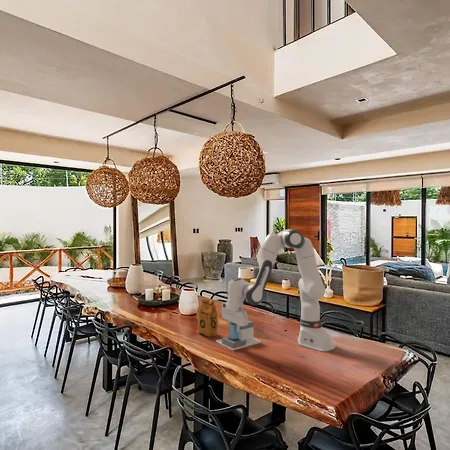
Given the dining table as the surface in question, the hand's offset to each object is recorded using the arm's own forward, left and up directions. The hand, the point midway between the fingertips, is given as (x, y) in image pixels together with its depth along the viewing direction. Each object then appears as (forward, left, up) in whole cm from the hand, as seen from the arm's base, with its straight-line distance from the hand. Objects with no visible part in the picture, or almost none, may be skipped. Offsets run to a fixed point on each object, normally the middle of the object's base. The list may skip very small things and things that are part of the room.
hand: (234, 329), depth 198 cm
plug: (0, 0, -5) cm, 5 cm away
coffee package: (+25, +1, -10) cm, 27 cm away
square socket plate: (+3, -6, -9) cm, 11 cm away
